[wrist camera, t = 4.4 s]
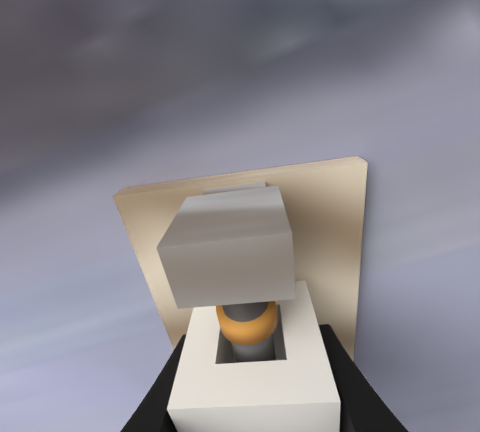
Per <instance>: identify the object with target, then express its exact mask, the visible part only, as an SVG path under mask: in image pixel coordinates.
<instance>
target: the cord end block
mask: <svg viewBox="0 0 480 432" xmlns="http://www.w3.org/2000/svg"><path fill="white" fill-rule="evenodd" d="M295 284H296V298H297V299H291V300H279V301H275V302H276V310H277V326H276V328H275V330H274V332H273V340H274V348H275V355H276V361H259V362H242V363H236V360H235V356H234V352H233V348H232V344H231V342H230V341H229V340H228V339H226V338H225V337H224V335H223V334H222V332H221V329H220V325H219V321H218V317H217V313H216V306H207V307H195V308H193V312H192V315H191V319H190V323H189V327H188V331H187V334H186V338H185V342H184V346H183V350H182V353H181V357H180V361H179V365H178V369H177V372H176V376H175V380H174V384H173V388H172V391H171V395H170V399H169V403H168V406H167V411H168V413H169V415H170V417H171V419H172V421H173V423H174V425H175V427H176V429H177V431H178V432H339V429H340V404H341V402H340V398H339V395H338V391H337V388H336V384H335V381H334V377H333V374H332V371H331V367H330V364H329V360H328V357H327V353H326V350H325V346H324V343H323V339H322V336H321V333H320V329H319V326H318V322H317V319H316V315H315V312H314V308H313V305H312V301H311V298H310V295H309V291H308V288H307V284H306V281H305V280H302V281H295Z"/></svg>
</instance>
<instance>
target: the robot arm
mask: <svg viewBox="0 0 480 432" xmlns="http://www.w3.org/2000/svg"><path fill="white" fill-rule="evenodd" d="M318 326H319V329H320V333H321V336H322V339H323V343H324V346H325V350H326V353H327V357H328V360H329V364H330V367H331V371H332V374H333V377H334V381H335V384H336V388H337V391H338V395H339V398H340V402H341V404H340V429H339V432H408V431H407V430H406V429H405V427H404V426H403V425H402V424H401V423H400V422H399V420H398V419H397V418H396V417H395V416H394V415H393V413H392V412H391V411H390V410H389V408H388V407H387V406H386V405H385V404H384V402H383V401H382V400H381V398H380V397H379V396H378V395H377V393H376V392H375V391H374V390H373V388H372V387H371V386H370V384H369V383H368V382H367V380H366V379H365V378H364V376H363V375H362V373H361V372H360V371H359V369H358V368H357V366H356V365H355V364H354V362H353V361H352V359H351V358H350V356H349V355H348V353H347V352H346V350H345V349H344V347H343V346H342V344H341V342H340V341H339V339H338V337H337V336H336V334H335V332H334V331H333V329H332V327H331V326H330V325H329V324H322V325H318ZM185 338H186V334H183V336H182V337H181V338H180V340H179V342H178V344H177V346H176V347H175V349H174V351H173V353H172V354H171V356H170V358H169V360H168V361H167V363H166V365H165V366H164V368H163V370H162V371H161V373H160V374H159V376H158V378H157V379H156V381H155V382H154V384H153V386H152V387H151V389H150V390H149V392H148V393H147V395H146V396H145V398H144V399H143V401H142V402H141V404H140V405H139V407H138V408H137V410H136V411H135V412H134V414H133V415H132V417H131V418H130V419H129V421H128V422H127V423H126V425H125V426H124V428H123V429H122V430H121V431H120V432H178V431H177V429H176V427H175V425H174V423H173V421H172V419H171V417H170V415H169V413H168V411H167V406H168V403H169V399H170V395H171V391H172V388H173V384H174V380H175V376H176V372H177V369H178V365H179V361H180V357H181V353H182V350H183V346H184V342H185Z"/></svg>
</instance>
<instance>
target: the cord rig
mask: <svg viewBox="0 0 480 432" xmlns="http://www.w3.org/2000/svg"><path fill="white" fill-rule="evenodd" d="M367 164H368V162H366V161H365V160H363V159H361V158H360V157H358V156H354V157H347V158H340V159H332V160H325V161H318V162H310V163H303V164H296V165H289V166H281V167H274V168H267V169H259V170H252V171H245V172H237V173H230V174H223V175H215V176H208V177H201V178H193V179H186V180H179V181H171V182H164V183H157V184H149V185H142V186H135V187H127V188H123V189H122V190H121V191H119V192H118V193H117V194H115V195H114V196H113V198H114V201H115V203H116V206H117V208H118V211H119V213H120V216H121V218H122V221H123V223H124V226H125V228H126V231H127V233H128V236H129V238H130V241H131V243H132V246H133V248H134V251H135V253H136V256H137V258H138V261H139V263H140V266H141V268H142V271H143V273H144V276H145V278H146V281H147V283H148V286H149V288H150V291H151V293H152V296H153V299H154V301H155V304H156V306H157V309H158V311H159V314H160V316H161V319H162V321H163V324H164V326H165V329H166V331H167V334H168V336H169V339H170V341H171V344H172V346H173V349H175V347H176V346H177V344H178V342H179V340H180V338H181V337H182V336H183V334H187V331H188V327H189V323H190V319H191V315H192V312H193V308H195V307H207V306H216V313H217V317H218V321H219V325H220V329H221V332H222V334H223V335H224V337H225V338H226V339H228V340H229V341H230V342H231V344H232V348H233V352H234V356H235V360H236V363H242V362H259V361H276V355H275V348H274V340H273V332H274V330H275V328H276V326H277V310H276V302H275V301H279V300H291V299H297V298H296V284H295V281H302V280H305V281H306V284H307V288H308V291H309V295H310V298H311V301H312V305H313V308H314V312H315V315H316V319H317V322H318V325H322V324H329V325H330V326H331V327H332V329H333V331H334V332H335V334H336V336H337V337H338V339H339V341H340V342H341V344H342V346H343V347H344V349H345V350H346V352H347V353H348V355H349V356H350V358H351V359H352V361H353V360H354V346H355V332H356V318H357V304H358V290H359V276H360V262H361V248H362V234H363V220H364V206H365V192H366V178H367Z"/></svg>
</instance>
